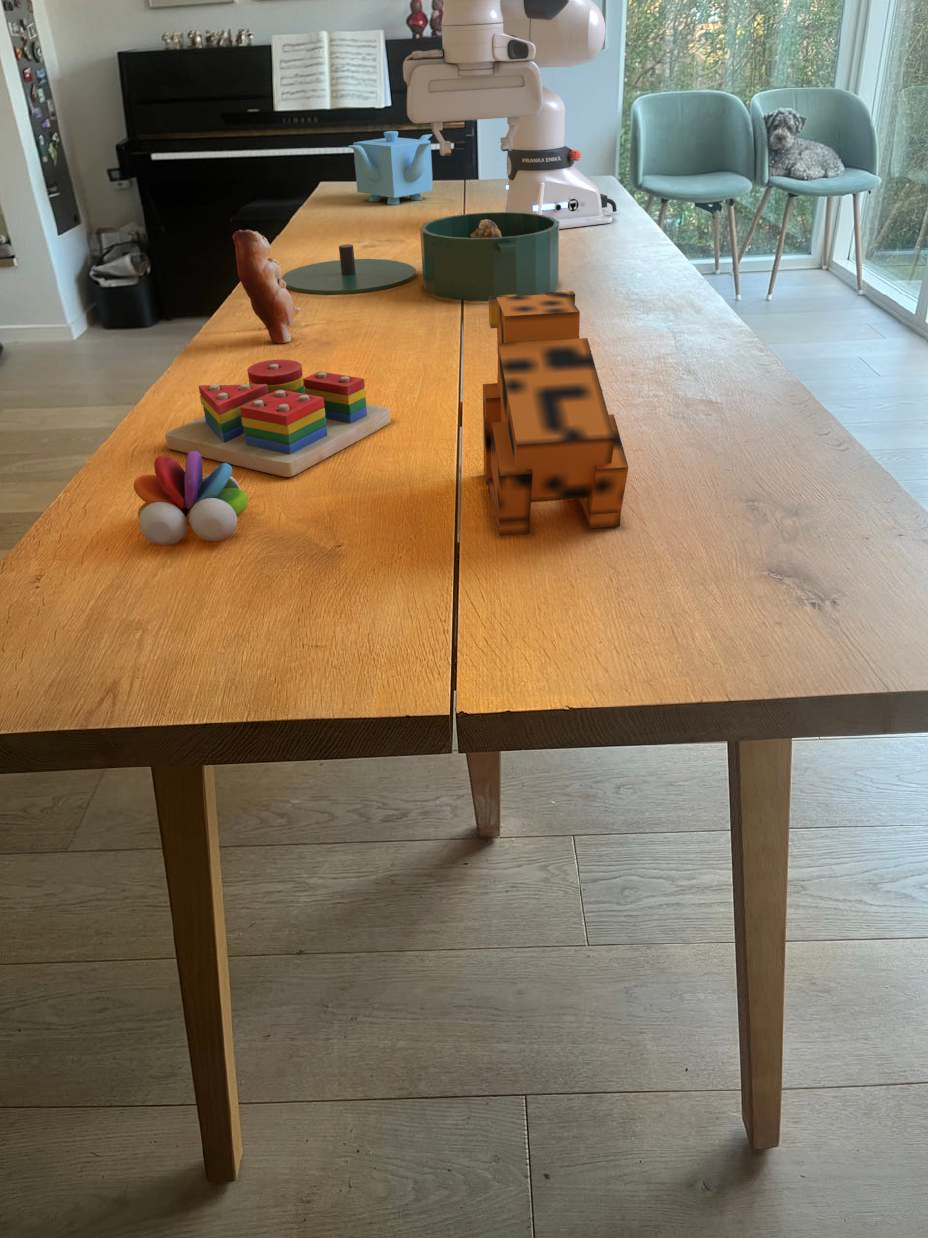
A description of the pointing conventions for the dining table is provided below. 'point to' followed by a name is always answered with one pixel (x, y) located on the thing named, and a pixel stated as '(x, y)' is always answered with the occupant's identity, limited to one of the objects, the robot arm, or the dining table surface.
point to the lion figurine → (486, 230)
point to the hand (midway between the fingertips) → (476, 152)
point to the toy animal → (548, 416)
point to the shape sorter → (280, 419)
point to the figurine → (264, 284)
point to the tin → (490, 256)
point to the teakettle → (393, 167)
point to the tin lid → (348, 275)
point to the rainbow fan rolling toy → (188, 501)
